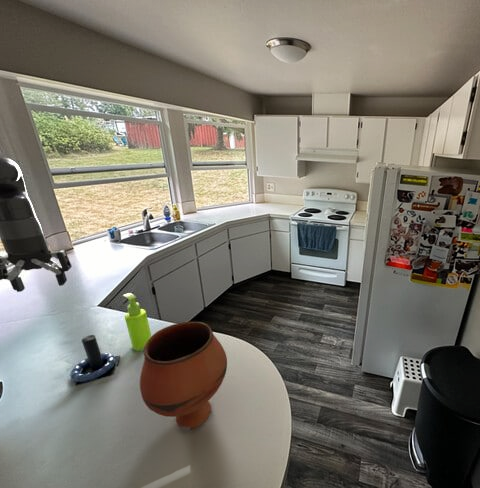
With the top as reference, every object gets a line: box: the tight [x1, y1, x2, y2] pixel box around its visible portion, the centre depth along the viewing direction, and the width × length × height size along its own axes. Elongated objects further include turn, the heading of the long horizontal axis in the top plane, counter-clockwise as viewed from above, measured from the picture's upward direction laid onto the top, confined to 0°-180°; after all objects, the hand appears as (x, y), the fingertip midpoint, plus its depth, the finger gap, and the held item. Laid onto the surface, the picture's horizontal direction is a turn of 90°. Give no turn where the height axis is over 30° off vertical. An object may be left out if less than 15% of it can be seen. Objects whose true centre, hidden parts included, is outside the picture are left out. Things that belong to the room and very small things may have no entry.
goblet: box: [139, 321, 228, 430], centre depth 63 cm, size 19×19×25 cm
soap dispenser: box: [122, 292, 152, 351], centre depth 87 cm, size 6×7×20 cm
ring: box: [69, 352, 116, 383], centre depth 78 cm, size 10×10×2 cm
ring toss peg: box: [74, 334, 121, 387], centre depth 77 cm, size 9×9×13 cm
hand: (42, 287), depth 72 cm, fingers open, 8 cm apart
